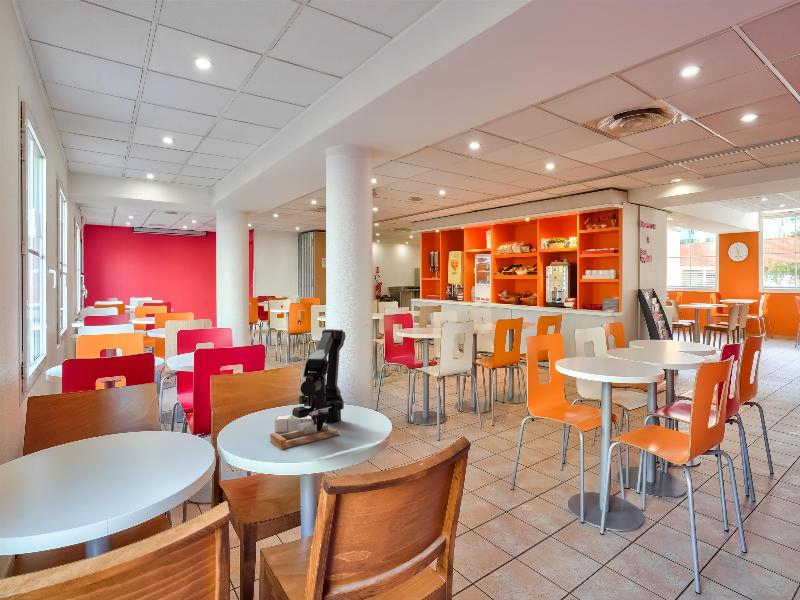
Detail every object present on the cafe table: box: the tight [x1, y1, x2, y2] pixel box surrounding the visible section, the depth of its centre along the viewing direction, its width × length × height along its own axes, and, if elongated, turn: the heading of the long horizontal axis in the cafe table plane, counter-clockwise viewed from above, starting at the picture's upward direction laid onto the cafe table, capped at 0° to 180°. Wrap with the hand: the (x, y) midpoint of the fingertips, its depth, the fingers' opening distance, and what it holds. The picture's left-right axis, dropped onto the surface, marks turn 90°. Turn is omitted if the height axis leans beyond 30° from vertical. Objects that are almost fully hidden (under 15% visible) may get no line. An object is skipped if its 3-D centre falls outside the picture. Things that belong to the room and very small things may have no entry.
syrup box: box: [274, 414, 314, 433], centre depth 179 cm, size 6×6×14 cm
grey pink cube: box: [297, 422, 317, 438], centre depth 169 cm, size 5×5×5 cm
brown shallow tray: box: [269, 423, 341, 451], centre depth 168 cm, size 23×12×4 cm, turn 128°
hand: (318, 431), depth 172 cm, fingers closed
